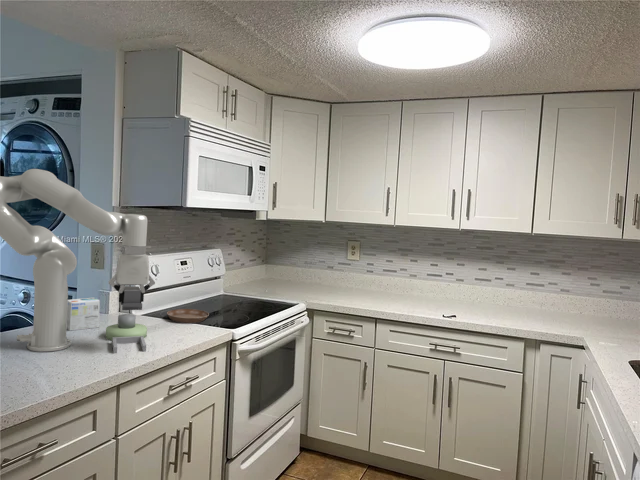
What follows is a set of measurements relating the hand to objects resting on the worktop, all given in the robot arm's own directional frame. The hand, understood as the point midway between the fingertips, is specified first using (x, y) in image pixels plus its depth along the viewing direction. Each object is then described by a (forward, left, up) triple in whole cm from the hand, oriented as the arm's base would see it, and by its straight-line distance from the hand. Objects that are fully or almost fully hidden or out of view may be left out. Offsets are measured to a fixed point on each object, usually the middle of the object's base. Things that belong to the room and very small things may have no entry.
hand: (131, 303), depth 158 cm
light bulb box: (-15, +29, -15) cm, 36 cm away
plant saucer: (+26, +36, -16) cm, 47 cm away
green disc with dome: (0, +8, -15) cm, 17 cm away
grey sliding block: (0, 0, -1) cm, 1 cm away
